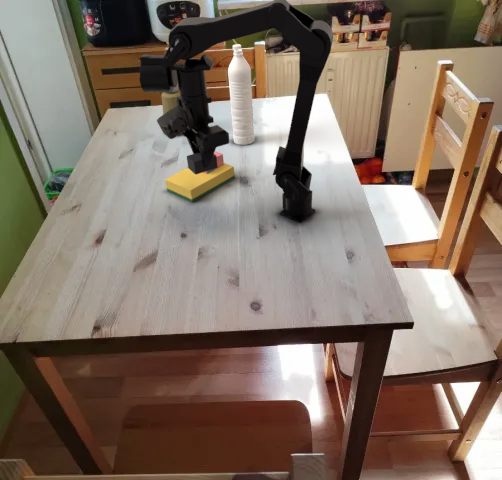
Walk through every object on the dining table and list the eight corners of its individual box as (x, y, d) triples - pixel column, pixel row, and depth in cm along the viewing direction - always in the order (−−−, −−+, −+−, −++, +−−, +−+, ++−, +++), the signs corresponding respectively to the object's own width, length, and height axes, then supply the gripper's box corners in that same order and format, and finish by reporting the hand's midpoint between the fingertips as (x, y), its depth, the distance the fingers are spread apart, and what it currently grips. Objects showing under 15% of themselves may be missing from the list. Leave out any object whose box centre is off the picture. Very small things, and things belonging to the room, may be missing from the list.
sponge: (209, 168, 132) (208, 156, 130) (234, 178, 127) (233, 166, 125) (167, 191, 124) (164, 179, 122) (192, 202, 119) (190, 190, 117)
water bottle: (255, 144, 141) (250, 51, 124) (234, 146, 141) (226, 54, 123) (252, 132, 148) (247, 43, 130) (232, 134, 147) (224, 45, 129)
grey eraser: (210, 161, 111) (208, 149, 108) (217, 167, 108) (216, 155, 106) (188, 168, 109) (186, 155, 107) (195, 174, 106) (193, 162, 104)
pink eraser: (213, 160, 128) (212, 149, 126) (224, 164, 126) (222, 153, 124) (196, 169, 125) (194, 158, 123) (207, 173, 123) (205, 162, 120)
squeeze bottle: (162, 130, 153) (151, 70, 140) (185, 125, 155) (176, 65, 142) (170, 139, 148) (159, 77, 135) (193, 133, 150) (185, 72, 137)
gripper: (141, 88, 100) (155, 158, 111) (176, 115, 88) (188, 190, 99) (187, 77, 103) (196, 146, 115) (227, 101, 92) (233, 175, 103)
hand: (202, 163), depth 108 cm, fingers closed on grey eraser, 4 cm apart
